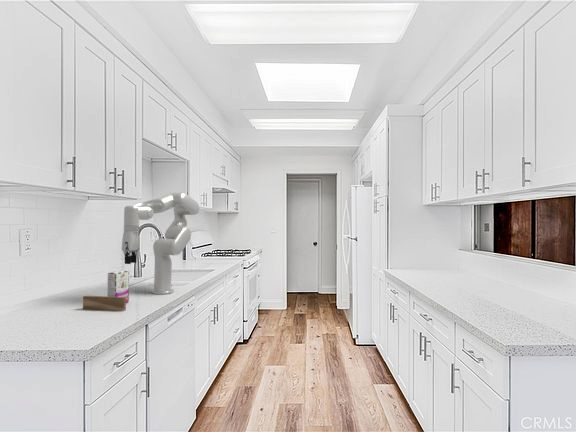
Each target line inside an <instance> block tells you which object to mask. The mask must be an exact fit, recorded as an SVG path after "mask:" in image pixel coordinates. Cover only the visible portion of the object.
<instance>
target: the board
mask: <svg viewBox="0 0 576 432" xmlns="http://www.w3.org/2000/svg"><path fill="white" fill-rule="evenodd" d="M126 309H127V303H126V297H108V295H107V296H105V295H104V296H103V295H84V296H82V310H96V311H116V312H118V311H119V312H125V311H126Z"/></svg>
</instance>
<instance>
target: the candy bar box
mask: <svg viewBox="0 0 576 432" xmlns="http://www.w3.org/2000/svg"><path fill="white" fill-rule="evenodd" d="M129 288H130V270H125V269H124V270H123V269H121V270H117V271H116V270H115V271H112V272H108V273H107V296H108V297H126V304H127V303H129V302H130V296H129V295H130V290H129Z"/></svg>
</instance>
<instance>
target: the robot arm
mask: <svg viewBox="0 0 576 432" xmlns="http://www.w3.org/2000/svg"><path fill="white" fill-rule="evenodd" d="M170 209H173V213H174V219H173V221H172V222H171V223H170V225H169V227H168V228H167V229H166V230H165V232H164V238H163V237H161V238H158V239H156V240H155V241H154V242H153V245H152V247H153V255H154V274H153V275H154V279H153V282H154V283H153V289H151V291H150V292H151V294H154V295H167V294H172V293H174V291H175V290H174V289H172V286H173V284H172V265H173V263H172V258H171V256H178V255H181V253H182V252H183V250H184V249H185V248H186V247H187V245H188V243H189V242H190V240H191V237H192V231H191V229H190V228H189V227H188V222H187V221H188V220H187V219H186V216H196V215H197V214H198V213H199V212H200V204H199V202H197V201H196V200H195V199H194V198H193V197H192V196H190V195H188V194H187V193H184V192H169V193H167V194H165V195H162V196H159V197H157V198H153V199H150V200H146V201H143V202H139V203H136V204H134V205H126V206H124V208H123V234H122V238H121V239H122V242H121V250H122V252H123V254H124V265H131V264H135V263H137V256H138V250H139V244H140V242H139V241H140V240H139V239H140V237H139V233H140V221H142V220H143V221H148V220H151V219H152V218H153V216H154V214H160V213H164V212H167V211H168V210H170Z"/></svg>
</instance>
